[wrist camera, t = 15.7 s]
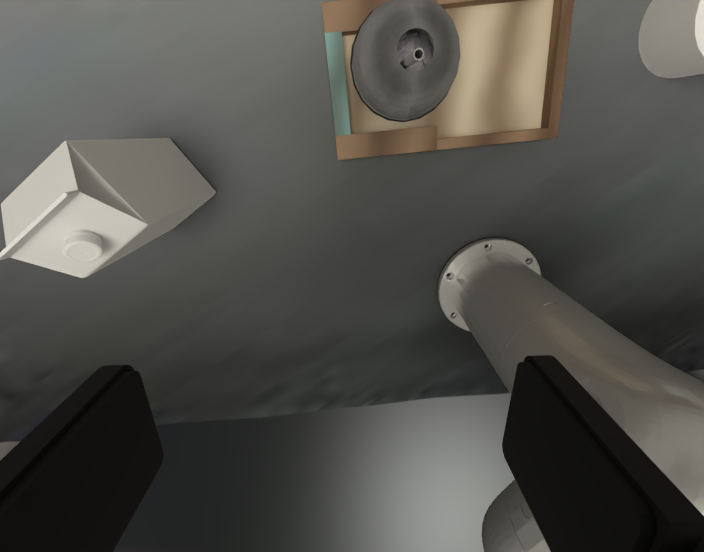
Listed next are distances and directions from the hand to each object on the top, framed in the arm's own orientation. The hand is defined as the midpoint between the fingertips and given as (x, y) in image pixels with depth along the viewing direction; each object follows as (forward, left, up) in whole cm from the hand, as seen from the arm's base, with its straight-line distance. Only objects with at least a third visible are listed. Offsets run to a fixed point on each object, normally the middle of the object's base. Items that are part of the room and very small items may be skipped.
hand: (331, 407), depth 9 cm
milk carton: (+18, +5, -33) cm, 38 cm away
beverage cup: (-1, -12, -32) cm, 34 cm away
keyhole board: (-6, -14, -33) cm, 36 cm away
